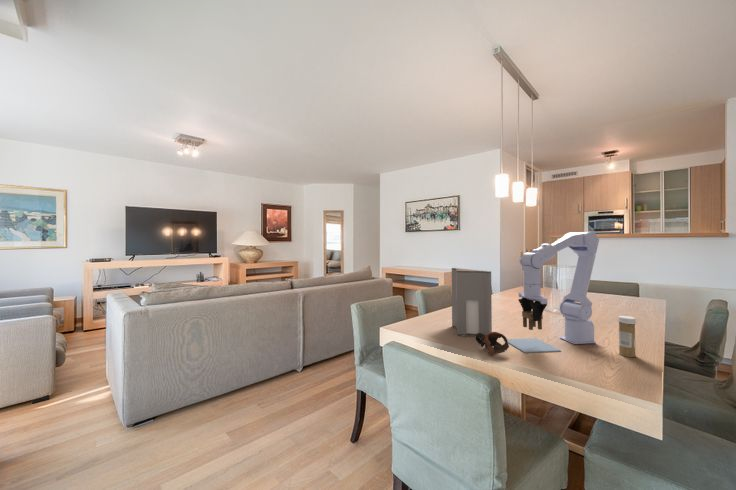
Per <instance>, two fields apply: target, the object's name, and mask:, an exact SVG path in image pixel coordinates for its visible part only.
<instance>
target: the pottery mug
mask: <svg viewBox="0 0 736 490" xmlns="http://www.w3.org/2000/svg"><path fill="white" fill-rule="evenodd" d="M474 338H475V339H474V340H475V341H476V342H477V343H478V345H480V347H481V349H482V348H485V349H487V348H488V351H487V354H488V355H489V356H491V357H493V355H497V354H503V353H505V352H506V351H508V349H509V348H510V344H509V343H508V341H507V339H508V338H507V337H506V336H505V335H504V334H502V333H501V332H498V331H492V332H489V333H488V334H487V335H484V334H482V333H477V334H476V336H474ZM501 338H502V340H503V341H504V340H505V341H504V343H503V344H501V343H500V342H499V341H498V339H501Z"/></svg>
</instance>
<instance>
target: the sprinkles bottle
mask: <svg viewBox="0 0 736 490" xmlns="http://www.w3.org/2000/svg"><path fill="white" fill-rule="evenodd" d="M636 320H637V319H636V318H635V317H634V316H629V315H628V316H627V315H619V316H618V320H617V321H618V345H619V347H618V349H619V351H618V352H619V355H621V356H623V357H627V358H636V356H637V354H636V346H637V345H636V322H637V321H636Z"/></svg>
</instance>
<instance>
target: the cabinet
mask: <svg viewBox="0 0 736 490" xmlns="http://www.w3.org/2000/svg"><path fill="white" fill-rule="evenodd" d="M492 303H493V302H492V270H491V271H490V270H479V269H468V268H459V267H451V327H453V328H454V329H456V334H457V335H456V336H457V337H458V336H459V337H461V336H462V337H475V336H476V334H477V333H482V334H484V335H487V334H488V333H489V332H493V330H492V329H493V326H492V325H493V323H492V318H493V317H492V316H493V315H492V314H493V312H492V311H493V310H492V309H493V307H492V305H493V304H492Z"/></svg>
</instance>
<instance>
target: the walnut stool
mask: <svg viewBox="0 0 736 490" xmlns="http://www.w3.org/2000/svg"><path fill="white" fill-rule="evenodd" d="M521 317H522V327H523V328H528V330H530V331H533V330H534V328H537V329H538V330H543V317H544V316H543V313H542V316H541V320H540V321H534V319H533V311H523V310H522V311H521ZM536 326H537V327H536Z"/></svg>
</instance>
